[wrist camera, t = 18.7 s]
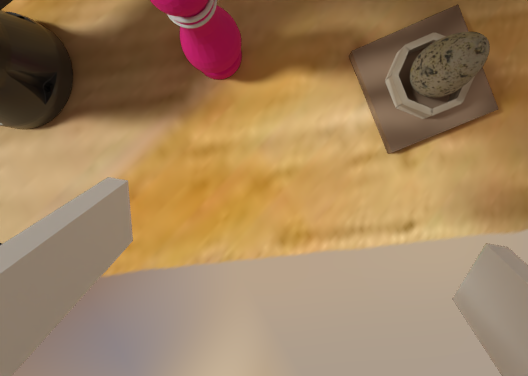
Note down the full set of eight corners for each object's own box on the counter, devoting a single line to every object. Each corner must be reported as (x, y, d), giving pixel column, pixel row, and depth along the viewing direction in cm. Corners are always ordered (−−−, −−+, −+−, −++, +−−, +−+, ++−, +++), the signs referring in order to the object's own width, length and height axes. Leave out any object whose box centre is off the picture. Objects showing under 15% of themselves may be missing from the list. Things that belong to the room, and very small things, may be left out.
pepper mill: (234, 21, 38) (183, -151, 18) (253, 72, 38) (223, -42, 18) (185, 41, 38) (82, -104, 18) (204, 91, 38) (122, 1, 18)
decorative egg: (457, 72, 35) (529, 31, 25) (430, 113, 35) (489, 89, 25) (417, 47, 35) (472, -4, 25) (390, 88, 35) (434, 54, 26)
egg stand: (348, 56, 37) (355, 43, 34) (450, 11, 36) (469, -6, 33) (387, 153, 37) (398, 151, 34) (489, 111, 36) (511, 105, 33)
